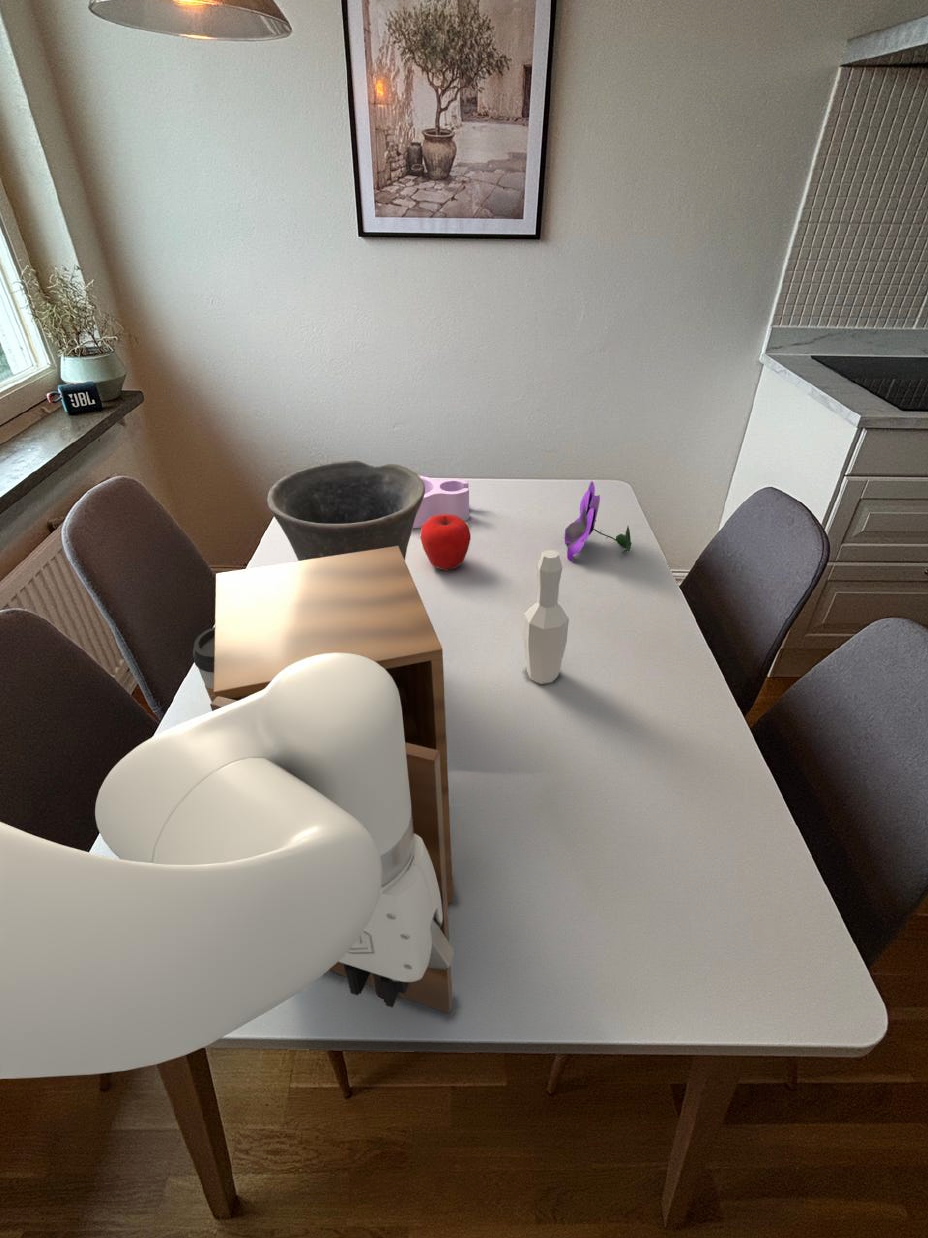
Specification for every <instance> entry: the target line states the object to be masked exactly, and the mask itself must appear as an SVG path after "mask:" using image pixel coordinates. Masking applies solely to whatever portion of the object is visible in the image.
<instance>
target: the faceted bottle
mask: <svg viewBox="0 0 928 1238" xmlns="http://www.w3.org/2000/svg"><path fill="white" fill-rule="evenodd" d="M536 573H537V593H536V602H535V603H534V604H532V606H530V607H529V608H528V610H526V611H525V612H524V613H523V633H522V637H523V645H524V654H525V663H526V671H527V674H528V677H529V679H530V680H531V681H533V682H535V683H537V684H539V685H543V684H544V685H545V684H551V683H553V682H554V681H555V680H556V679H557V678H558V677H559V675H560V670H561V666H562V662H563V658H564V654H565V650H566V646H567V642H568V632H569V622H570V621H569V620H570V618H569V616H568V615H567V613H566V612H565V610H564V609H563V608H562V606H561V605H560V604H559V590H560V583H561V577H562V573H563V564H562V560H561V557H560V554H559V552H558V551H557V550H554V549H547V550H544V551H543V552H541V554H540V556H539V559H538V562H537V564H536Z"/></svg>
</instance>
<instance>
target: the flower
mask: <svg viewBox="0 0 928 1238" xmlns="http://www.w3.org/2000/svg"><path fill="white" fill-rule="evenodd" d="M595 492H596V487H595V482H594V481H593V480H591V481H590V483H589V485H588V489H587V491H586V492H585V493H584V495H583V496H582V498H581V502H580V504H579V517H578V518H577V519H575V521H573V522H571V523H570V524H569V525H568V526H567V527H566V528H565V529H564V545H567V550H566V556H567V557H566V558H567V560H568V561H569V562H571V563H573V562H574V560H575V559H574V555H577V554H579V553H580V552H581V550H582V549H583V547H584V546H585V541H588V539H589V536H590V535H591V534H592V533H593V532H594V531H595V532H596V533H598V534H600V535H601V536H605V537H606V538H605V540H606V539H608V538H609V539H611V540H612V539H613V540H614V541H615V542H616V543H617V544H618V545H619V546H620V547H621V548H623V549H624V550H623V551H622V554H624V553H626V552H628V553H630V552H631V547H632V544H633V543H632V539H631V532H630V527H629V526H627V527H626V530H625V533H619V534H617V535H616V536H615V538H614V537H612V536H610V535H607V534H605V533H603V532H602V530H600V531H599V530H597V529H595V526H596V522H597V516H598V512H599V508H600V502H601V496H600V495H595Z"/></svg>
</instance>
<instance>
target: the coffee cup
mask: <svg viewBox="0 0 928 1238" xmlns="http://www.w3.org/2000/svg"><path fill="white" fill-rule="evenodd" d="M214 644H215V626H213V627H210V628H208V629H207V630H205V631H203V632H202V633H200V634H199V635H198V636H197V637H196V638H195V641H194V643H193V649H192V657H193V663H194V665H195V666H196V667H197V669H198V671H199V673H200V676H201V678H202V682H203V684H204V688H205V690H206V693H207V695H208V697H209V700H210V702H211V703H212V702H213V701H214V700H215V695H214Z"/></svg>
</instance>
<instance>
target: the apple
mask: <svg viewBox="0 0 928 1238" xmlns="http://www.w3.org/2000/svg"><path fill="white" fill-rule="evenodd" d="M471 537H472V535H471V531H470V527H469V525H468V524H467V522H466V520H465V521H463V520H462V519H461V518H459V517H458V516H455V515H447V514H442V515H436V516H433V517H431V518H430V519H429V520H428V521H427V522H425V523H424V524H423V526H422V527H421V530H420V537H419V539H420V541H421V544H422V549H423V551H424V553H425V555H426V557H427V559H428V561H429V563H430V565H432V566H434V567H436V568H438V569H440V570H445V571H446V570H447V571H449V570H453V569H456V568H457V567H459V566H460V565H461V564H462V563H463V562H464V560H465V558H466V556H467V553H468V551H469V547H470V542H471Z"/></svg>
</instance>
